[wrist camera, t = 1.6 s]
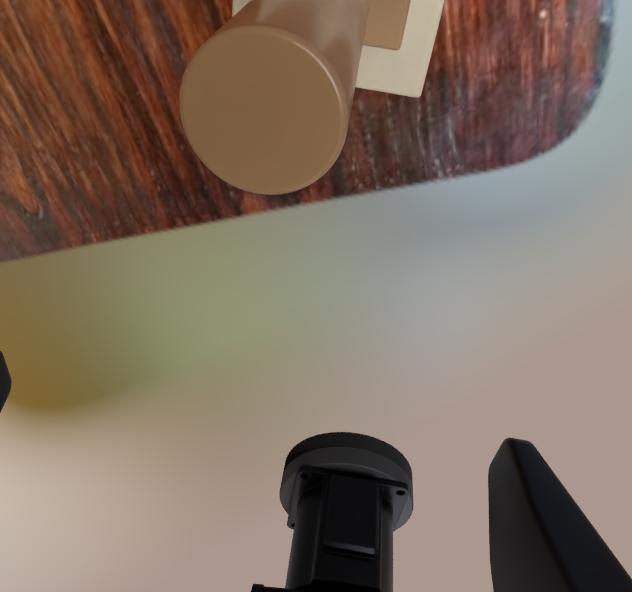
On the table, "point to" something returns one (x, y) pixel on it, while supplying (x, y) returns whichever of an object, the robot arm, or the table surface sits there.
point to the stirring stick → (281, 88)
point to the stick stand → (397, 52)
